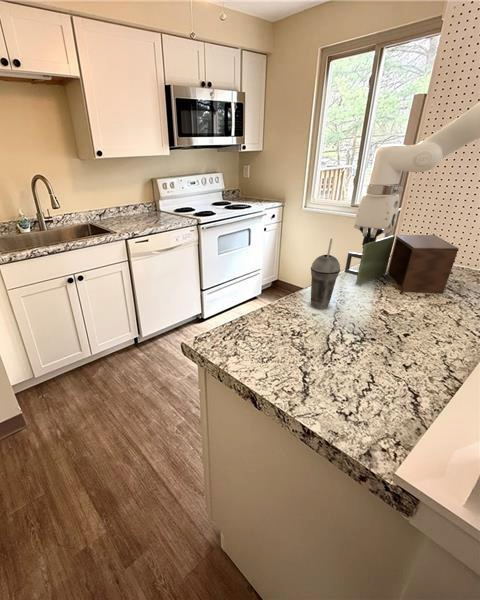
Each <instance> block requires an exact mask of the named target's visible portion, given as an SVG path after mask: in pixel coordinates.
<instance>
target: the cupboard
mask: <svg viewBox="0 0 480 600" xmlns="http://www.w3.org/2000/svg"><path fill="white" fill-rule="evenodd" d="M458 252H459V247H457V246H455V245H454V244H452V243H450V242H449V241H446V240H444V239H443V238H442V237H439V236H438V235H436V234H396V235H395V238H394V242H393V246H392V250H391V254H390V258H389V262H388V266H387V270H386V275H387V277H388V278H389V279H390V281H392V283H393V284H394V285H395V286H396V287H397V288H398V290H400V292H401V293H423V294H444V292H445V290H446V287H447V283H448V281H449V278H450V276H451V271H452V269H453V267H454V264H455V262H456V261H455V260H456V258H457V255H458Z"/></svg>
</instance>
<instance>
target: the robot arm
mask: <svg viewBox="0 0 480 600" xmlns="http://www.w3.org/2000/svg"><path fill="white" fill-rule="evenodd" d="M479 139H480V101H479V102H478V103H476V104H475V105H473V106H472V107H470V108H469V109H468V110H467V111H465V112H464V113H462V114H461V115H460V116H458V117H456V118H455V119H454V120H452V121H451V122H449V123H448V124H446V125H445V126H443V127H442V128H440V129H438V130H437V131H435V132H433V133H432V134H431V135H429V136H427V137H426V138H425V139H423V140H421V141H420V142H418V143H416V144H410V145H409V144H408V145H406V144H387V145H381V146H379V147H377V149H376V150H375V152H374V157H373V162H372V165H371V170H370V174H369V179H368V183H367V188H366V192H365V193H364V194H363V195H362V197H361V199H360V202H359V205H358V207H357V210H356V214H355V217H354V225H353V228H354V229H356V230H358V231H360V232H361V234H362V236H363V240H362V244H361V245H362V248H363V247H364V244H367V243H370V242H373V241H376V240H377V237H379V236H380V235H382V234H390V233H392V232H393V227H394V226H396V223H397V219H398V215H399V207H400V194H398V193H400V192H401V193H402V192H403V190H404V187H403V186H400V181H401V178H402V175H403V172H408V173H425V172H429V171H431V170H432V169H435V167H437V166H438V165H439V163H440V162H441V161H442V159H445V158H446V157H448V156H449V155H451V154H453V153H454V152H456V151H458V150H460V149H461V148H463V147H465V146H467V145H468V144H471V143H472V142H475V141H476V140H479Z"/></svg>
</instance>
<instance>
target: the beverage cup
mask: <svg viewBox="0 0 480 600" xmlns="http://www.w3.org/2000/svg"><path fill="white" fill-rule="evenodd" d="M332 245H333V238H330V240H329V245H328V249H327V254H322V255H320V256H317V257H316V258H315V259H314V260H313V261H312V263H311V267H310V275H311V279H310V280H311V285H310V307H312V308H313V309H316V310H327V309H328V308H329V305H330V303H331V298H332V296H333V292H334V289H335V285H336V281H337V279H338V277H339V274H340V272H341V264H340V262H339V260H338V258H336V257H335V256H334V255H331V254H330V253H331V249H332Z"/></svg>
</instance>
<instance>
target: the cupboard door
mask: <svg viewBox="0 0 480 600" xmlns="http://www.w3.org/2000/svg"><path fill="white" fill-rule="evenodd" d="M395 239H396V235H393V234H392V235H389V236H387V237H383V238H380V239H376V241H373V242H370V243H367V244H364V247H363V246H362V253H358V252H354V251H348V252H347V258H346V262H345V268H344V273H346V274H349V275H353V276H356V280H355V285H358V286H359V285H362V284H364V283H366V282H369V281H371V280H374V279H377V278H379V277H383V276H385V275H387V271H388V267H389V263H390V259H391V255H392V251H393V247H394V243H395ZM352 258H355V259H359V260H360V262H359V267H358V270H356V269H352V268H350V267H351V263H352Z"/></svg>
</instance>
